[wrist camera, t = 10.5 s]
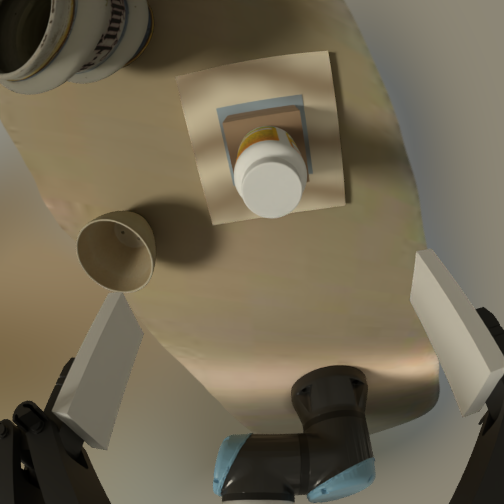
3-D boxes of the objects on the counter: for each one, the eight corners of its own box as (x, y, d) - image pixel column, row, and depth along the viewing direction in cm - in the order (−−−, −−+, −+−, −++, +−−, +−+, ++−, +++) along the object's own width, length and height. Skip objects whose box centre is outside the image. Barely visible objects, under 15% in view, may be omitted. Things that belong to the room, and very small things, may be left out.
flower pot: (169, 198, 38) (153, 226, 32) (167, 265, 43) (154, 299, 37) (97, 190, 37) (70, 214, 31) (101, 254, 42) (81, 285, 36)
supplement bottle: (229, 167, 29) (217, 211, 21) (252, 115, 27) (250, 137, 19) (281, 188, 30) (290, 239, 22) (306, 139, 28) (328, 173, 20)
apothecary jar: (65, 81, 29) (-44, 110, 14) (77, -10, 23) (-27, -30, 8) (156, 80, 30) (69, 98, 15) (172, -19, 24) (101, -77, 8)
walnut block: (303, 166, 34) (309, 181, 30) (240, 176, 35) (237, 192, 31) (293, 104, 31) (299, 110, 26) (227, 115, 31) (222, 123, 27)
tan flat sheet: (343, 201, 38) (345, 205, 37) (213, 221, 39) (212, 225, 38) (326, 51, 28) (328, 50, 27) (177, 76, 30) (174, 77, 29)
